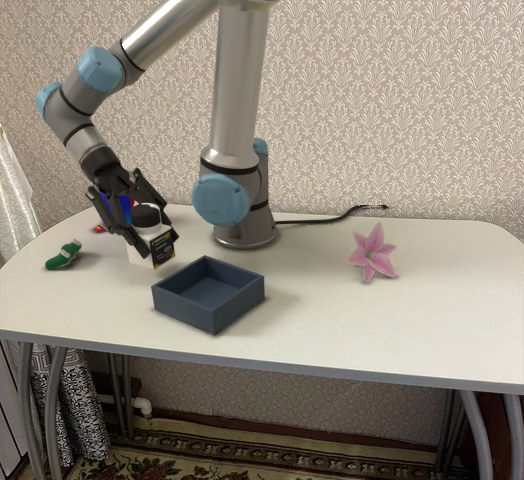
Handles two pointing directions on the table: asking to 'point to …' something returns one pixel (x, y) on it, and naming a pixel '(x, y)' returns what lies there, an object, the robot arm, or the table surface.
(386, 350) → the table surface
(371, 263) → the lily
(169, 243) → the medicine bottle
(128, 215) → the fantasy tower
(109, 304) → the table surface
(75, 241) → the gaming controller
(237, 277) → the tote
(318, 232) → the table surface
